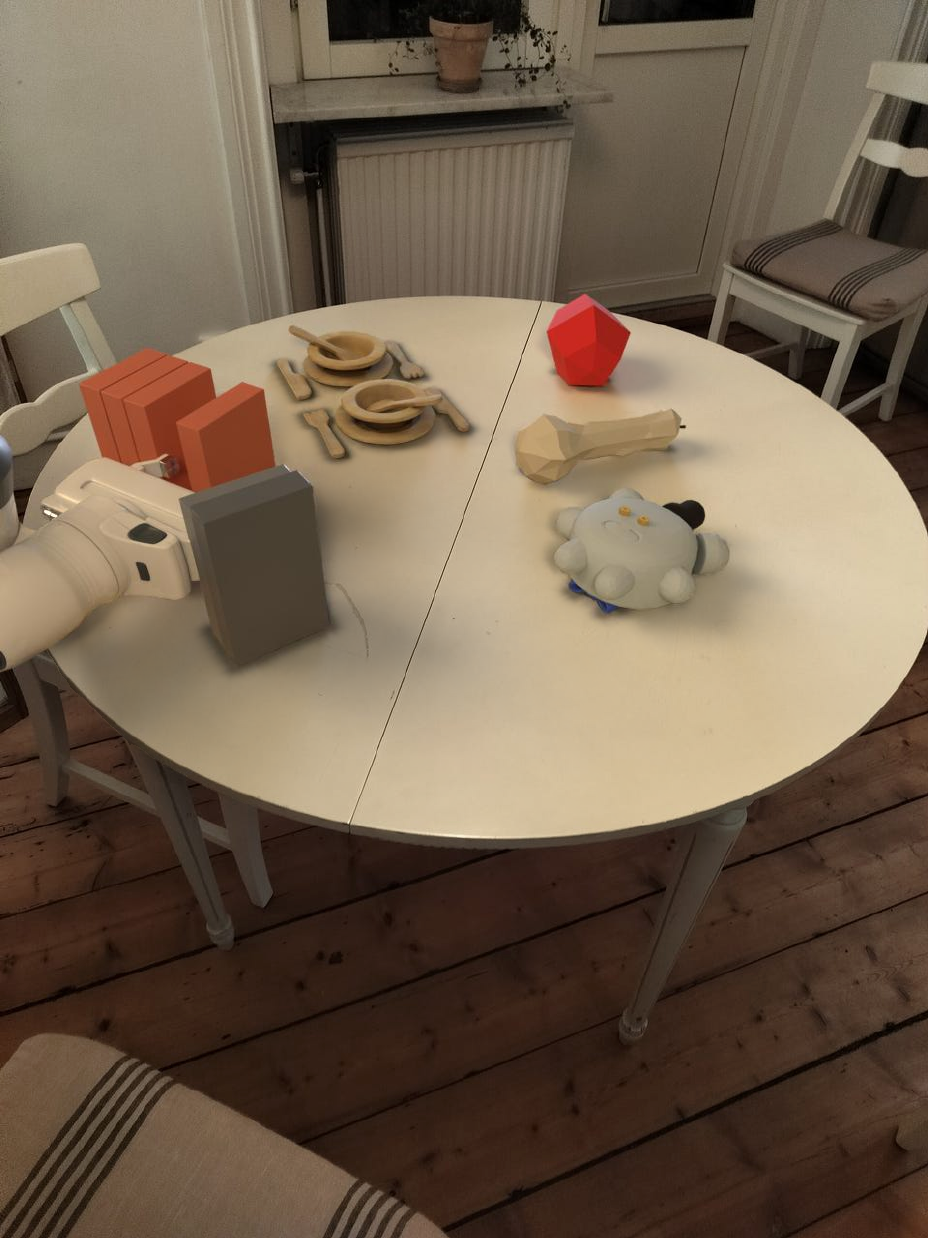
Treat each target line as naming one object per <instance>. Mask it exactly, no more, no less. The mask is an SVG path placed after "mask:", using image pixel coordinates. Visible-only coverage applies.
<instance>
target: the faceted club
mask: <svg viewBox="0 0 928 1238" xmlns="http://www.w3.org/2000/svg"><path fill="white" fill-rule="evenodd" d="M681 423H682V417H681V416H680V415H679V413H678V412H676V411H675V410H674V409H672V408H667V409H665V410H658V411H655V412H652V413H648V414H646V415H645V414H644V415H642V416H635V417H630V418H622V419H616V420H615V419H614V420H602V421H585V422H584V423H583V424H581V423H572V422H567V421H565V420H563V419H561V418H559V417H557V416H556V415H550V414H541V415H538V416H535V417H532V418H530V419H529V420H528V421H527V422H526V423H525V424H524V425H523V426H522V427H521V428H520V429H518V431H517V434H516V438H515V442H514V452H515V453H514V454H515V457H516V458H515V459H516V467H518V468H519V469H520V470H521V472H522V473H523V474H524V475H525V476H526V477H527V478H530V479H532V480H533V481H535V482H538V483H539V484H542V485H543V484H547V483H552V482H556V481H558V480H560V479H561V478H564V477H565V476H566V475H568V473H570V472H571V471H572V469H573V468H574V467H575V466H576V465H578V463H579V462H580V461H585V460H590V459H597V458H602V457H608V456H609V457H610V456H615V455H617V456H622V457H624V456H627V455H630V454H633V453H636V452H639V451H659V452H660V451H661V452H662V451H664V452H665V451H666V450H667V449H668V448H669V445H670V444H671V443H672V442H673V441H674V440H675V439H676V438H677V437H678V435H679V432H680V429H684V430H685V429H686V428H687V425H686V424H681Z"/></svg>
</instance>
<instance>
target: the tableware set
mask: <svg viewBox="0 0 928 1238" xmlns="http://www.w3.org/2000/svg"><path fill="white" fill-rule="evenodd" d="M288 333H290V335H293V336H294V337H296V338H299V339H301V340H303V341H306V342H307V343H309V344H308V345H307V348H306V354H307V356H306V357H305V359H304V360H303V363H302V367H303V370H304V373H305V374H306V376H308V377H309V378H310V379H312V380H314V381H315V382H318V383H321V384H323V385H328V386H333V387H350V388H348V389H347V390H346V391H344V393H343V395H342V397H341V405H340V406H339V407H338V408H337V410H336V412H335V423H336V426H337V428H338V429H339V431H341V433H343V434H345V435H346V436H347V437H349V438H351V439H354V440H356V441H359V442H362V443H367V444H374V445H385V446H386V445H397V444H403V443H408V442H411V441H414V440H417V439H419V438H421V437H423V436H425V435H426V434H427V433H429V432H430V431H431V430H432V428H433V427H434V426H435V422H436V412H437V413H438V414H443V415H447V416H448V417H449V419H450V420H451V422H452V423H453V424H454V426H455V427H456V429H457V430H458V431H460V432H461V433H462V432H464V433H465V432H468V431H469V429H470V424H469V423H468V421H467V420H466V419H465V418H464V417H463V416H462V415H461V413H460V412H459V411H458V410H457V409H456V408H455V407H454V406H453V405H452V404H451V403H450V401H449V400H448V399H447V398H446V397H445V396H444V395H443V393H441V391H439V389H438V388H437V387H436V386H433V387H428V388H426V389H425V390H424V389H423V388H421V387H420V386H419V385H417V384H415V383H412V382H408V381H405V380H400V379H392V378H385V377H386V376H388V374H390V373H391V371H392V369H393V366H394V361H393V358H394V359H395V360H396V362H397V363H398V364H399V365H400V366H399V373H400V374H401V375H402V377H403V378H404V379H406V380H407V379H411V378H418V377H420V378H421V377H424V376H425V374H424V371H422V369H421V368H420V367H419V366H418V365H417V364H415V363H411V362H409V361H408V359H407V357H406V355H405V354H404V353H403V351H402V349H401V348H400V346H399V345H398V344H397V342H396V341H395V340H386V341H384V340H383V339H381V338H380V337H379V336H377V335H375V334H372V333H368V332H366V331H365V332H364V331H358V330H357V331H356V330H339V331H333V332H328V333H325V334H321V335H319V336H317V335H314V334H313V333H311V332H310V331H307V330H305V329H303V328H302V327H299V326H297V325H294V324H293V325H289V327H288ZM388 352H389V353H388ZM276 364H277V367H278V368H279V370H280V372H281V373H282V375H283V376H284V378H285V380H286V382H287V384H288V385H289V387H290V389H291V391H292V392H293V394H294V396H295V398H296V399H297V400H298V401H301V400H306V399H309V398H310V397H311V396H312V390H311V387H310V385H309V383H308V381H307V380H306V378H305V377H304V375H302V374H300V373H295V372H293V370H292V368H291V366H290V364H289V361H288V360H287V359H286V358H279V359H277V363H276ZM435 411H436V412H435ZM303 417H304V419H305V420H306V422H307V424H308V425H309V426H310V427H313V428H316V429H317V430H318V431H319V433H320V435H321V437H322V439H323V441H324V443H325V445H326V448H327V450H328V452H329V454H330V456H331V457H332V458H334V459H341V458H343V457H344V456H345V454H346V452H345V451H346V449H345V448H344V446H343V445H342V443H341V442H340V441H339V439H338V438H337V437H336V436H335V435H336V434H334V432H333V431H332V430H331V428H330V427H329V423H330V417H329V415H328V413H327V412H326V410H325V409H324V408H323V409H318V410H317V411H316V410H312V411H311V412H304V413H303Z"/></svg>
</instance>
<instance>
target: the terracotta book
mask: <svg viewBox="0 0 928 1238" xmlns="http://www.w3.org/2000/svg"><path fill="white" fill-rule="evenodd" d="M176 424H177V428H178V433H179V437H180V441H181V445H182V449H183V454H184V458H185V462H186V466H187V470H188V475H189V479H190V483H191V487H192V491H193V492H199V491H202V490H206V489H209V488H212V487H215V486H218V485H221V484H224V483H227V482H230V481H233V480H236V479H239V478H242V477H245V476H248V475H251V474H254V473H257V472H260V471H263V470H266V469H269V468H272V467H275V466H276V461H275V454H274V448H273V446H274V445H273V441H272V434H271V426H270V420H269V415H268V406H267V401H266V395H265V389H264V388H262V387H259V386H256V385H253V384H249V383H247V382H244V381H241V382H239V383H238V384H236V385H234V386H233V387H231V388H230V389H228V390H227V391H225V392H223V393H221V394H220V395H218V396H216V398H215V399H213V400H212V401H210V402H209V403H207V404H205V405H204V406H202V407H200V408H199V409H197V410H195V411H194V412H192V413H191V414H189V415H187V416H186V417H184V418H182V419H181V420H179V421H178V422H176Z"/></svg>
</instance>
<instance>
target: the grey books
mask: <svg viewBox="0 0 928 1238" xmlns="http://www.w3.org/2000/svg"><path fill="white" fill-rule="evenodd" d="M314 493H315V492H314V485H313V484H312V483H311V482H310V481H309V480H308V479H307V478H306V477H305V476H304V475H303V474H302V473H301V472H300V471H299V469H295V470H293V471H291V470H290V469H289V468H288V467H287V466H286V465H285V464H284V463H282V464H278V465H275V467H272V468H269V469H266V470H263V471H260V472H257V473H254V474H251V475H248V476H245V477H242V478H239V479H236V480H233V481H230V482H227V483H224V484H221V485H218V486H215V487H212V488H209V489H206V490H202V491H199V492H196V493H193V494H190V495H187V496H184V497H181V498H179V503H180V507H181V511H182V515H183V519H184V523H185V526H186V530H187V534H188V538H189V541H190V543H191V547H192V551H193V555H194V559H195V562H196V566H197V570H198V574H199V579H200V581H199V585H200V589H201V593H202V597H203V601H204V604H205V609H206V612H207V617H208V621H209V623H210V629H211V631H212V633H213V635H214V636H215V637H216V639H217V641H218V642H219V643H220V645H221V646H222V647H223V649H224V650H225V652H226V654H227V655H228V656H229V658H230V659H231V660H232V662H233V664H234V666H235V667H240V666H242V665H244V664H247V663H249V662H252V661H254V660H256V659H258V658H260V657H263V656H265V655H267V654H270V653H272V652H275V651H277V650H279V649H281V648H284V647H286V646H288V645H291V644H292V643H295V642H298V641H300V640H302V639H305V638H307V637H309V636H311V635H314V634H316V633H318V632H320V631H323V630H325V629H328V628H330V619H329V611H328V604H327V603H328V602H327V596H326V585H325V578H324V570H323V561H322V553H321V552H322V551H321V545H320V544H321V543H320V536H319V535H320V534H319V528H318V527H319V525H318V519H317V510H316V501H315V494H314Z"/></svg>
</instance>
